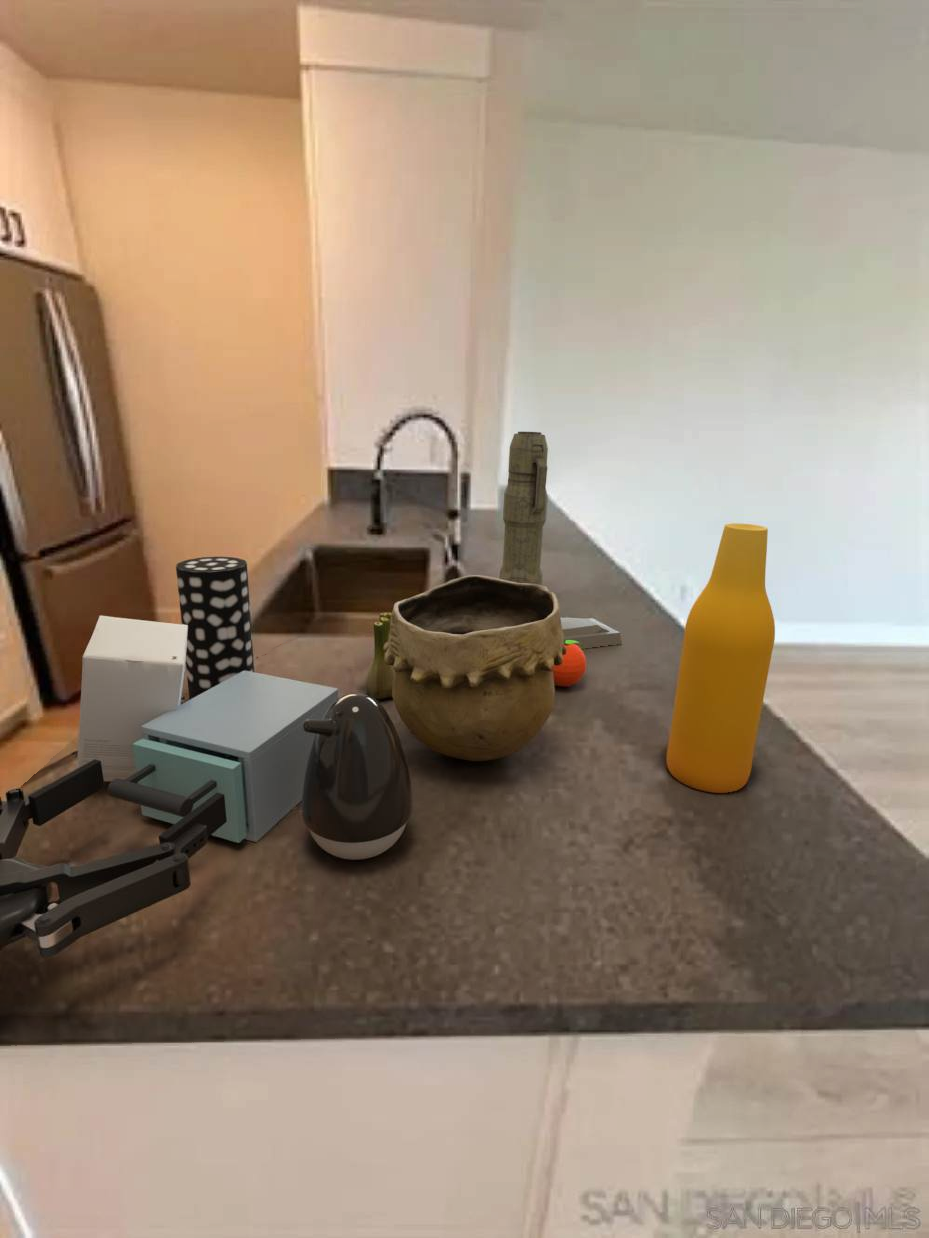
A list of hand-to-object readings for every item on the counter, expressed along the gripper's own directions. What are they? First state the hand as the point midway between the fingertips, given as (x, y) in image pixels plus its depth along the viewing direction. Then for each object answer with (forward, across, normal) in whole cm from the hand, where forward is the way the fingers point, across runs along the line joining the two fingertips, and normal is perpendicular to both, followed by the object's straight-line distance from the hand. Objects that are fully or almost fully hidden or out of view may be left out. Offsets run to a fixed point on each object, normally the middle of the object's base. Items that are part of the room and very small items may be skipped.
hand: (158, 789), depth 59 cm
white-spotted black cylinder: (+26, -15, -7) cm, 31 cm away
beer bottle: (+36, +46, -7) cm, 59 cm away
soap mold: (+74, +20, -7) cm, 77 cm away
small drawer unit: (+12, 0, -7) cm, 14 cm away
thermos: (+94, +7, -7) cm, 94 cm away
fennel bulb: (+40, +2, -7) cm, 40 cm away
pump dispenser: (+8, +15, -7) cm, 19 cm away
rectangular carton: (+10, -14, -5) cm, 18 cm away
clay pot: (+30, +19, -7) cm, 36 cm away
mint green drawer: (+8, 0, -6) cm, 10 cm away
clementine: (+55, +25, -7) cm, 60 cm away
